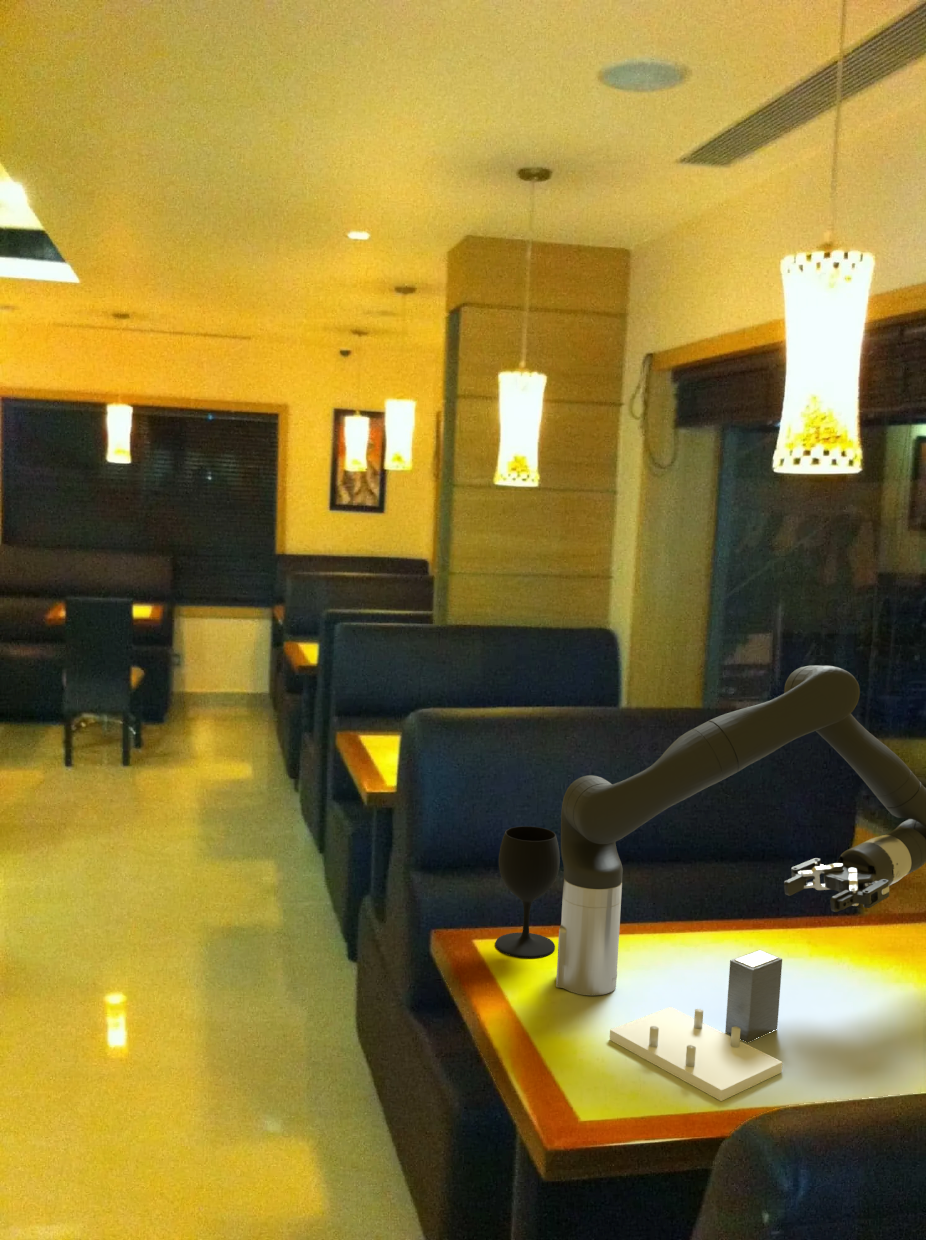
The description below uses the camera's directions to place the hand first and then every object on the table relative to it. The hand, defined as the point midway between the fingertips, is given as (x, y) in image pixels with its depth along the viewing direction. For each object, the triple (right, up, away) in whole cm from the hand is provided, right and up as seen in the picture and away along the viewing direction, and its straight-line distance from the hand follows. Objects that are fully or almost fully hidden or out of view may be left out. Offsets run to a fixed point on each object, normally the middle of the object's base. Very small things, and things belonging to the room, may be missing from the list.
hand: (808, 897), depth 169 cm
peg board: (-20, -19, -12) cm, 30 cm away
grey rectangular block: (-10, -19, -4) cm, 22 cm away
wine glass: (-41, -15, +24) cm, 50 cm away
